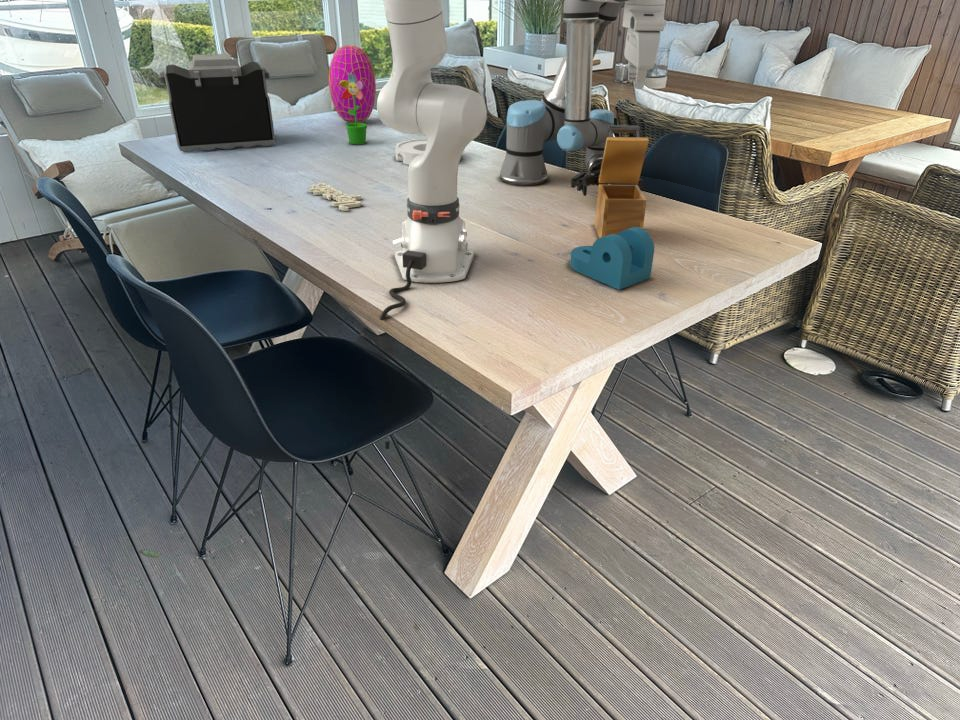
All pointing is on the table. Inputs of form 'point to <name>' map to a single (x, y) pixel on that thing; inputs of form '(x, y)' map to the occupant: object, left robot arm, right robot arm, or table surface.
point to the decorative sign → (336, 196)
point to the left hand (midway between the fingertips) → (635, 85)
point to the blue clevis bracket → (616, 258)
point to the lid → (623, 156)
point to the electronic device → (219, 104)
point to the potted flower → (354, 129)
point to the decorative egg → (361, 68)
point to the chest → (619, 208)
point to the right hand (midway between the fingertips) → (610, 191)
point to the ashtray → (410, 150)
